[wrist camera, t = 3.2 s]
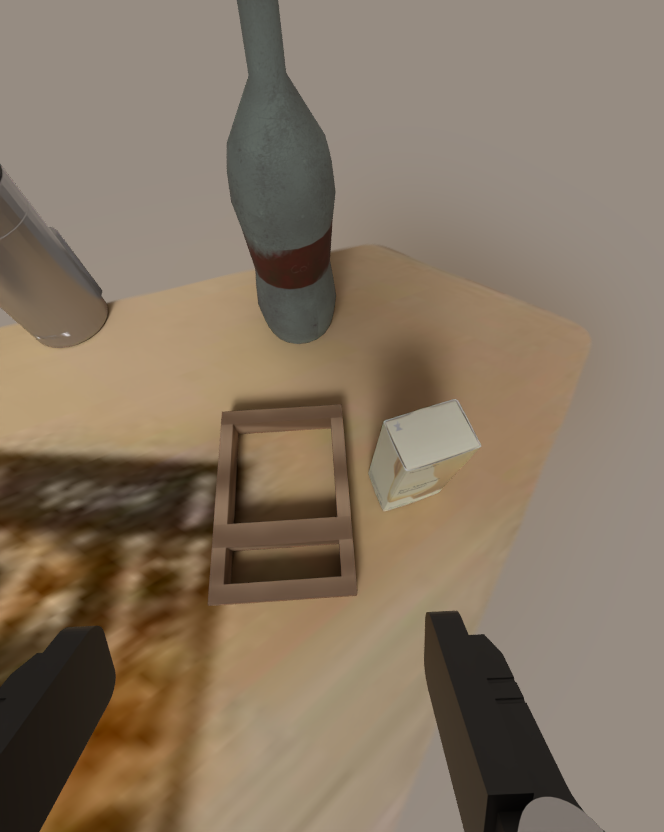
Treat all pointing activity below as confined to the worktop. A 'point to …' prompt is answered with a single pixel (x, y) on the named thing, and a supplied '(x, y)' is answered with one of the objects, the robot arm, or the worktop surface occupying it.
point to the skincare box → (421, 453)
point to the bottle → (281, 185)
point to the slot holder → (279, 532)
